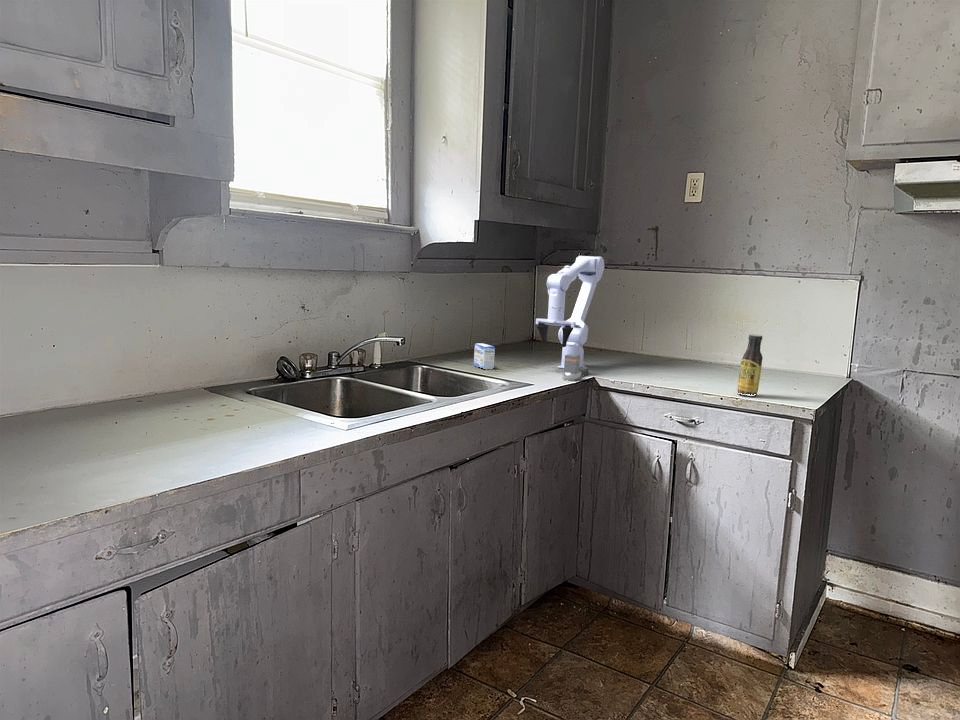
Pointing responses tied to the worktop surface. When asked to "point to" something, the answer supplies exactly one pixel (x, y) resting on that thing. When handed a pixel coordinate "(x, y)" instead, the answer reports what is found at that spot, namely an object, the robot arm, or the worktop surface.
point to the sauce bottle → (751, 366)
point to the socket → (571, 363)
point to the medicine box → (484, 356)
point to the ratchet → (575, 376)
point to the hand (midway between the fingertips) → (554, 345)
